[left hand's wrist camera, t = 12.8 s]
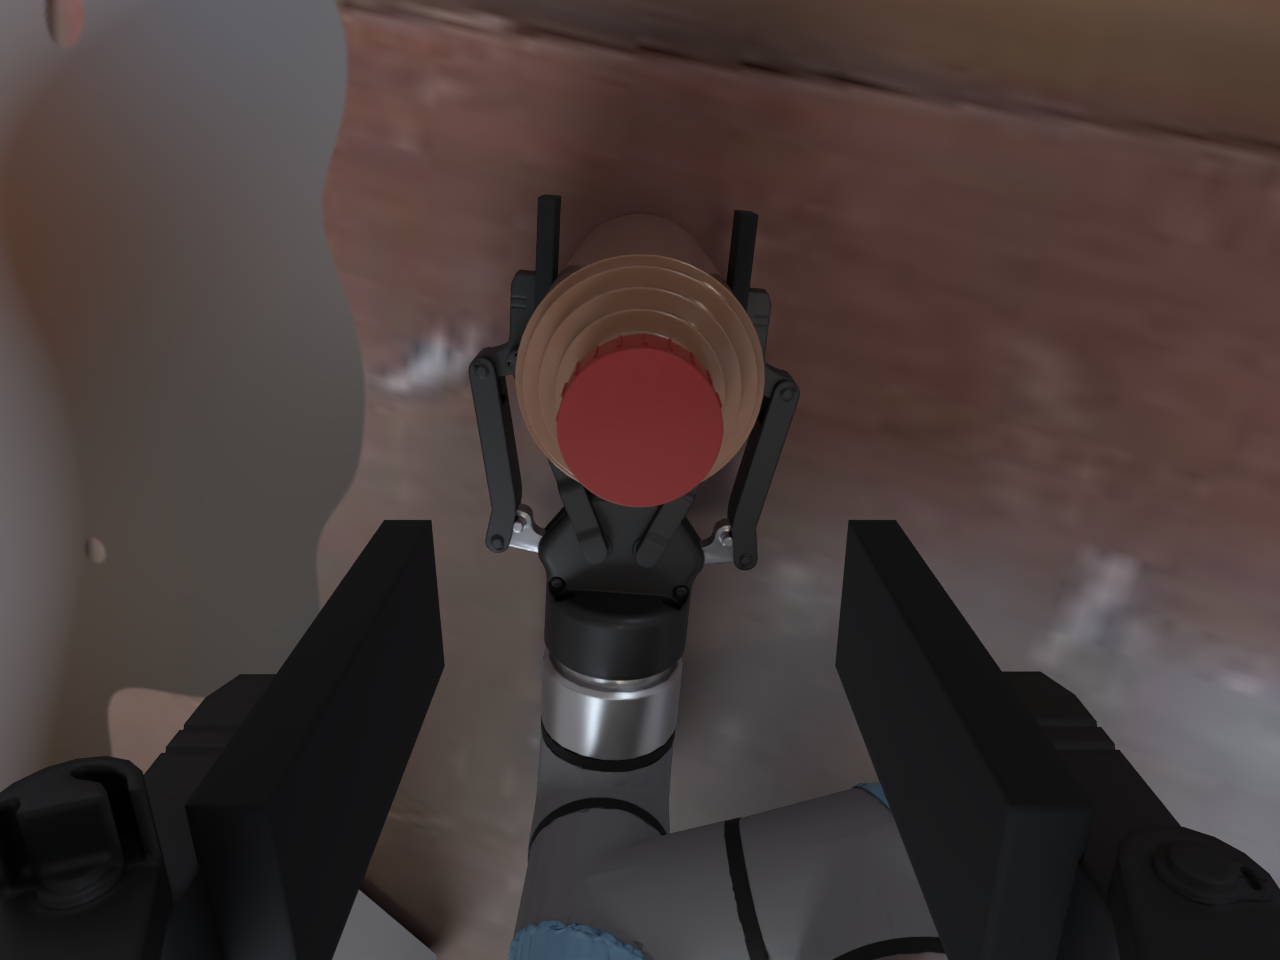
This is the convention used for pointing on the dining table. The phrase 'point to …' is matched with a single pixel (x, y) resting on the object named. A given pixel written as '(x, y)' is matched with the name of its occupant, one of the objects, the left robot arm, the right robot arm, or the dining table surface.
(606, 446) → the cap
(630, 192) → the dining table surface
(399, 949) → the electronic device
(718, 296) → the bottle
